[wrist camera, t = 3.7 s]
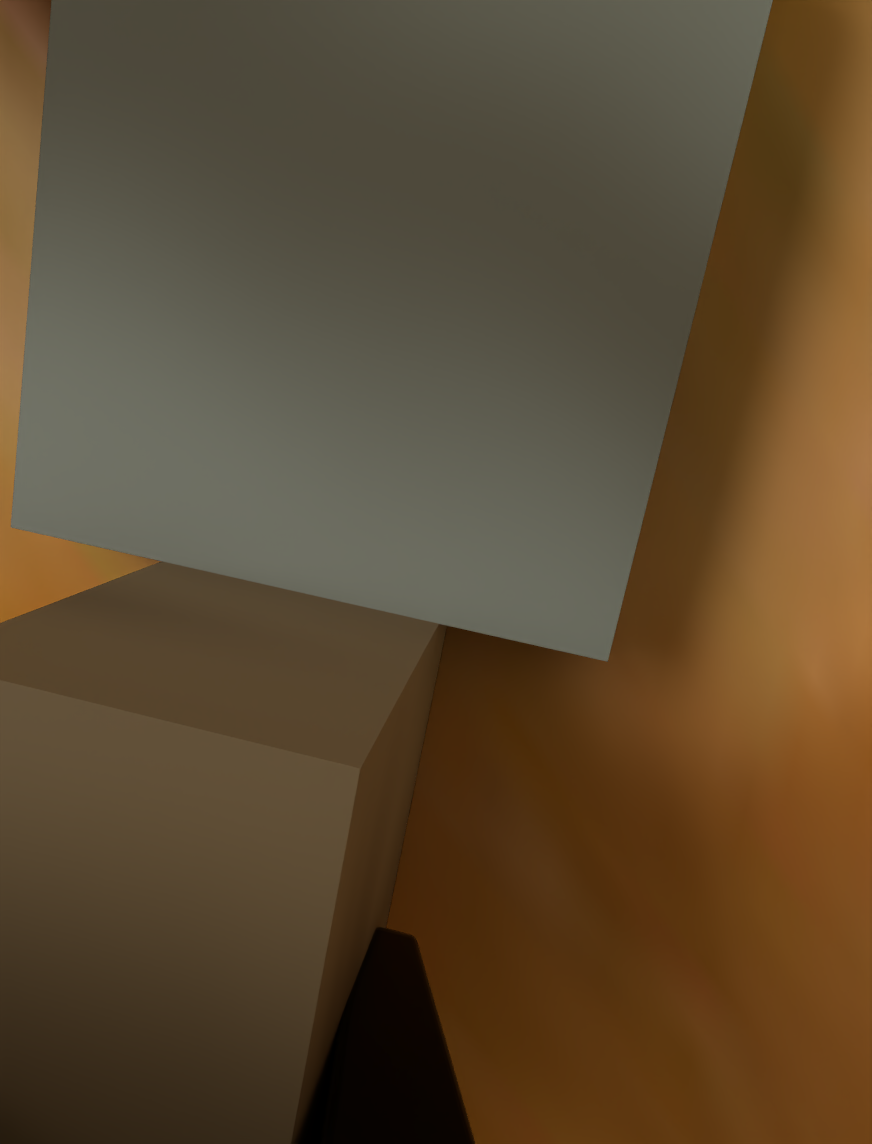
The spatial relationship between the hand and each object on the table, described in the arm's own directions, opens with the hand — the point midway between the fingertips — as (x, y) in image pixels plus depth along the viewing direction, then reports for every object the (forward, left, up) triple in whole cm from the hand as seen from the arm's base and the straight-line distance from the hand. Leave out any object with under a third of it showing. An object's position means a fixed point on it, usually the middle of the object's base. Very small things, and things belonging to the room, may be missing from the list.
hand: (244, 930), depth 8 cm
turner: (+3, 0, -1) cm, 4 cm away
